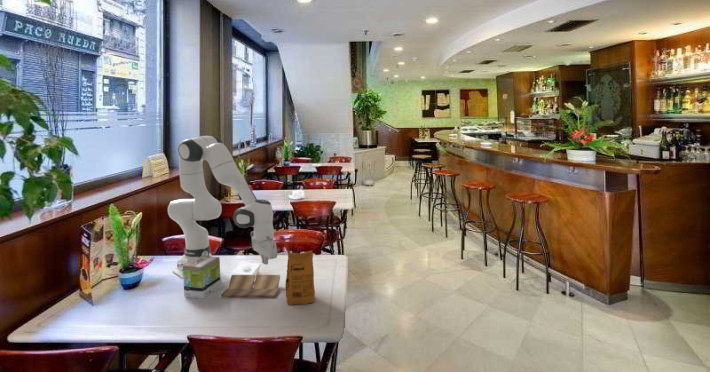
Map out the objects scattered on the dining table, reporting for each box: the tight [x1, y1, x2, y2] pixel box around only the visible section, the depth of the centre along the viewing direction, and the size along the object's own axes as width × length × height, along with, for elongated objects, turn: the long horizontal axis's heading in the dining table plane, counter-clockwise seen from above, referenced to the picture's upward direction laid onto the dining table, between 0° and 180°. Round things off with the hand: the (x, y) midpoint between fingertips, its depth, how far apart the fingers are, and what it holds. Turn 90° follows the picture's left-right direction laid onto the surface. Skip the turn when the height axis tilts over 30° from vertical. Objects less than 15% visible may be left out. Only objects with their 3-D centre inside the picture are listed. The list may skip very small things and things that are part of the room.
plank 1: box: [227, 274, 256, 289], centre depth 196 cm, size 11×8×1 cm
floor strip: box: [220, 288, 279, 299], centre depth 189 cm, size 24×7×1 cm, turn 88°
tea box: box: [182, 256, 222, 299], centre depth 192 cm, size 15×10×15 cm, turn 168°
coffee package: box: [285, 250, 316, 306], centre depth 181 cm, size 10×12×22 cm
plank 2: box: [253, 274, 281, 290], centre depth 196 cm, size 11×8×1 cm
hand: (265, 263), depth 196 cm, fingers closed
